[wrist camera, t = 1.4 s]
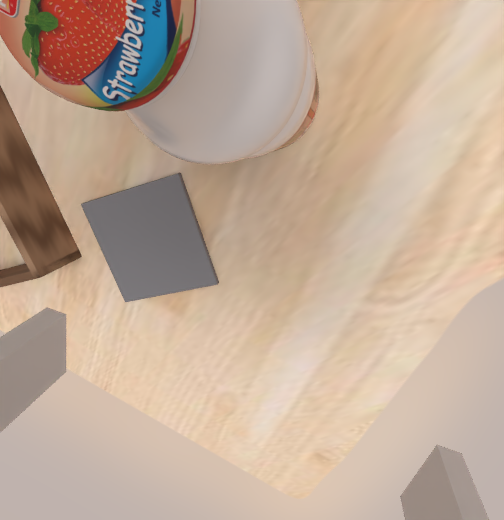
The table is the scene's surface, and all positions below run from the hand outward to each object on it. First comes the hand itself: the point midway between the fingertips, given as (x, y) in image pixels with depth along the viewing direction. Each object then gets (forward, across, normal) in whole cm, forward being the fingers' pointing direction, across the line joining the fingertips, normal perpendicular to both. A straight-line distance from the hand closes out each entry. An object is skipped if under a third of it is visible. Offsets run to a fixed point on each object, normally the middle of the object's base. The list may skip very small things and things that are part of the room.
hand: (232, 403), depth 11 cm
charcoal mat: (+27, -17, -9) cm, 33 cm away
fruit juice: (+28, -6, +10) cm, 30 cm away
